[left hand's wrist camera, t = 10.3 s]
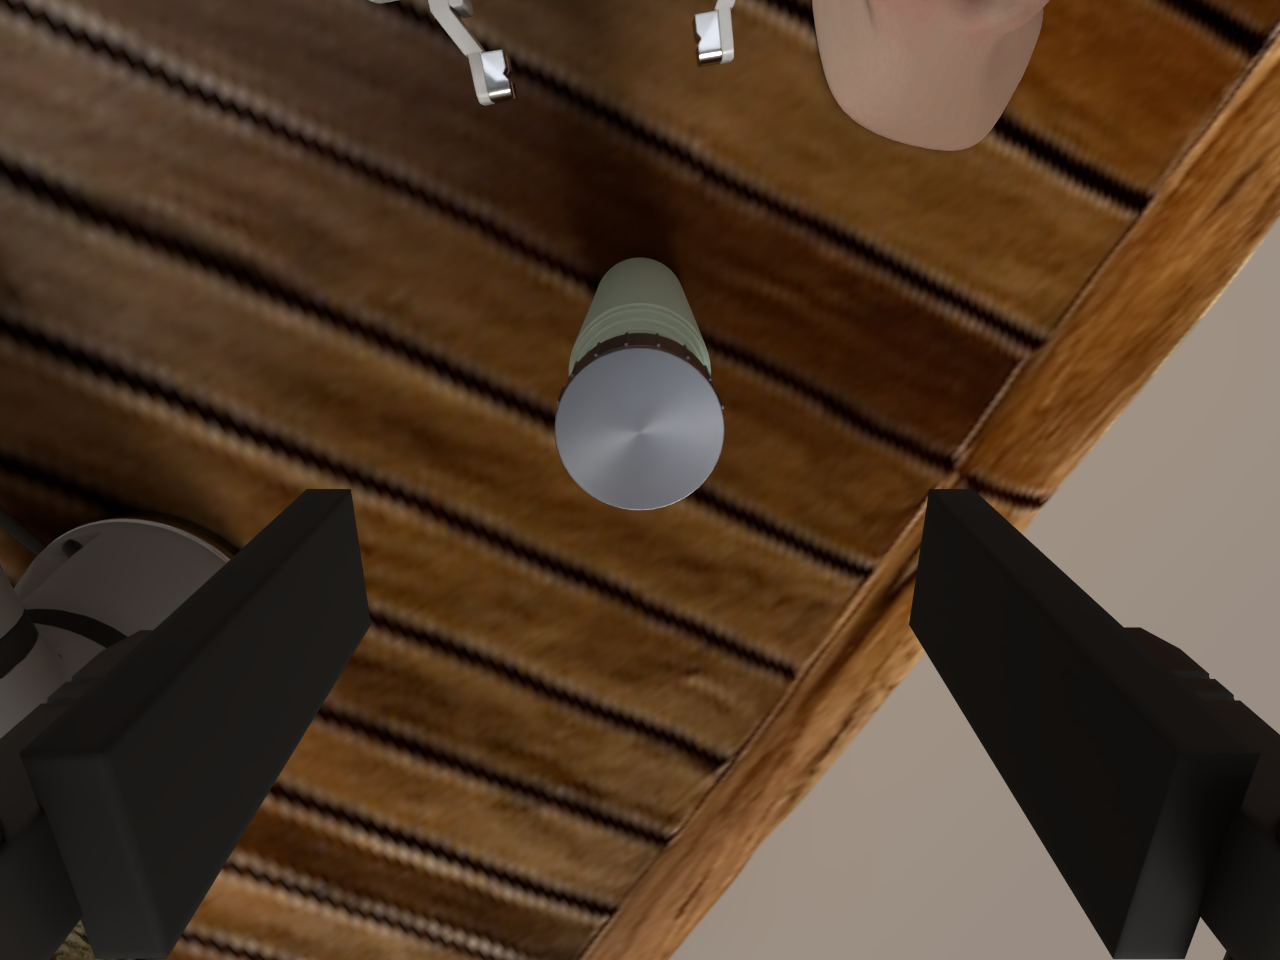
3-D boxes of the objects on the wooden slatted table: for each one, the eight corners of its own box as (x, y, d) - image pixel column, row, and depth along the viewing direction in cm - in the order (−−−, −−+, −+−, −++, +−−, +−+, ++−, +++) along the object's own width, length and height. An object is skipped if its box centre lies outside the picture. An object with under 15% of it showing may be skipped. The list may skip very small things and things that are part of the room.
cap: (576, 314, 21) (569, 328, 19) (736, 349, 22) (746, 367, 20) (548, 465, 23) (539, 493, 21) (697, 496, 23) (703, 526, 21)
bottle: (605, 248, 41) (566, 318, 20) (693, 268, 42) (751, 359, 20) (587, 337, 43) (534, 492, 21) (672, 355, 44) (705, 526, 22)
